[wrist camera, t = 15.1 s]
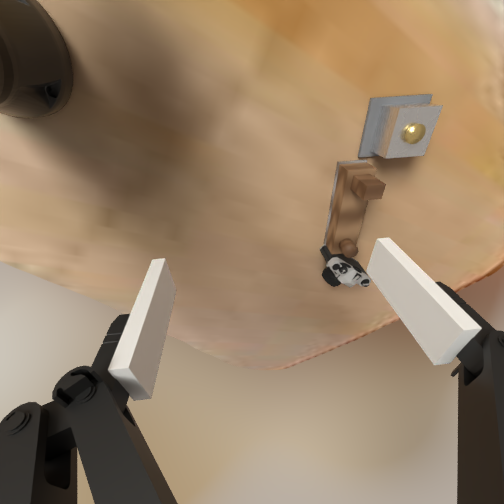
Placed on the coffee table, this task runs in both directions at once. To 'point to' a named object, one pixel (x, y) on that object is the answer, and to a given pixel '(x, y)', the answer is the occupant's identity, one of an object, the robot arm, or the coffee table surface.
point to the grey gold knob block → (404, 129)
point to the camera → (343, 270)
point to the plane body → (350, 205)
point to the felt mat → (374, 115)
